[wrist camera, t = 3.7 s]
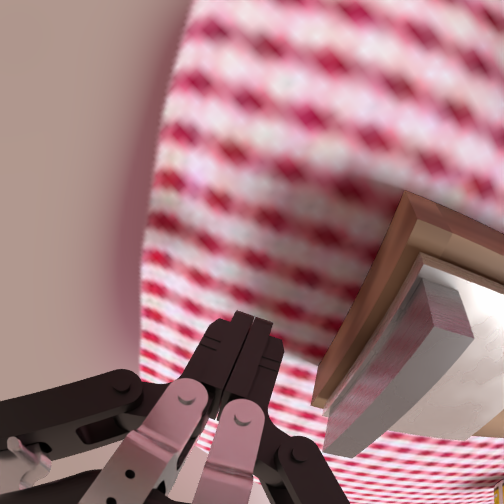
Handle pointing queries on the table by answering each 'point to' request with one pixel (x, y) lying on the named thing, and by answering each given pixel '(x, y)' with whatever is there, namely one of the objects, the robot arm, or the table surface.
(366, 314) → the socket board
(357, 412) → the shutter lid
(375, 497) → the table surface
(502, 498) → the supplement bottle
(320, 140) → the table surface
